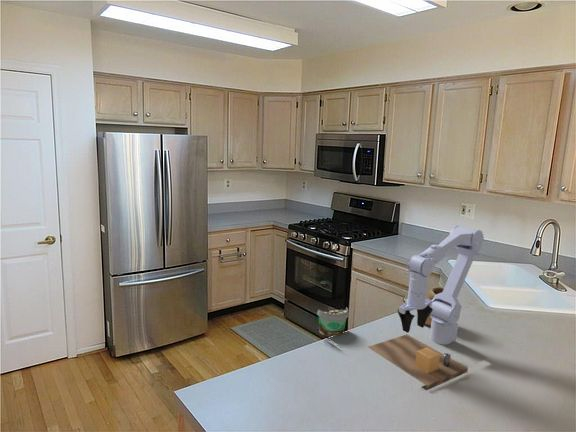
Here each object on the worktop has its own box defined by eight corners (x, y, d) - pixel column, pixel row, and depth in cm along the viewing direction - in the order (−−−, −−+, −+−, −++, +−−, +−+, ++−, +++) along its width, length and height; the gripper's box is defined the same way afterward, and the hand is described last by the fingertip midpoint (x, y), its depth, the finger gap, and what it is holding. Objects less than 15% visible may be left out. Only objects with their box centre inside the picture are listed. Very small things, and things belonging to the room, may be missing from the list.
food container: (321, 342, 139) (322, 316, 138) (315, 334, 145) (317, 309, 144) (352, 339, 143) (354, 313, 141) (345, 331, 149) (347, 306, 147)
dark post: (444, 366, 127) (446, 352, 126) (450, 369, 126) (451, 355, 125) (440, 368, 126) (442, 354, 125) (446, 371, 125) (448, 357, 124)
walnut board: (406, 338, 146) (406, 334, 145) (467, 372, 125) (467, 367, 125) (367, 350, 135) (367, 346, 135) (426, 390, 114) (427, 385, 114)
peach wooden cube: (425, 361, 127) (426, 347, 126) (438, 369, 123) (439, 354, 122) (414, 365, 124) (416, 351, 124) (427, 373, 120) (429, 358, 119)
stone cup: (440, 333, 151) (444, 296, 148) (413, 321, 160) (417, 287, 157) (459, 323, 160) (463, 289, 158) (433, 313, 169) (436, 280, 167)
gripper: (421, 283, 137) (417, 319, 140) (393, 290, 130) (389, 328, 132) (438, 290, 132) (434, 327, 134) (410, 298, 124) (406, 337, 126)
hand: (413, 328), depth 133 cm, fingers open, 7 cm apart
